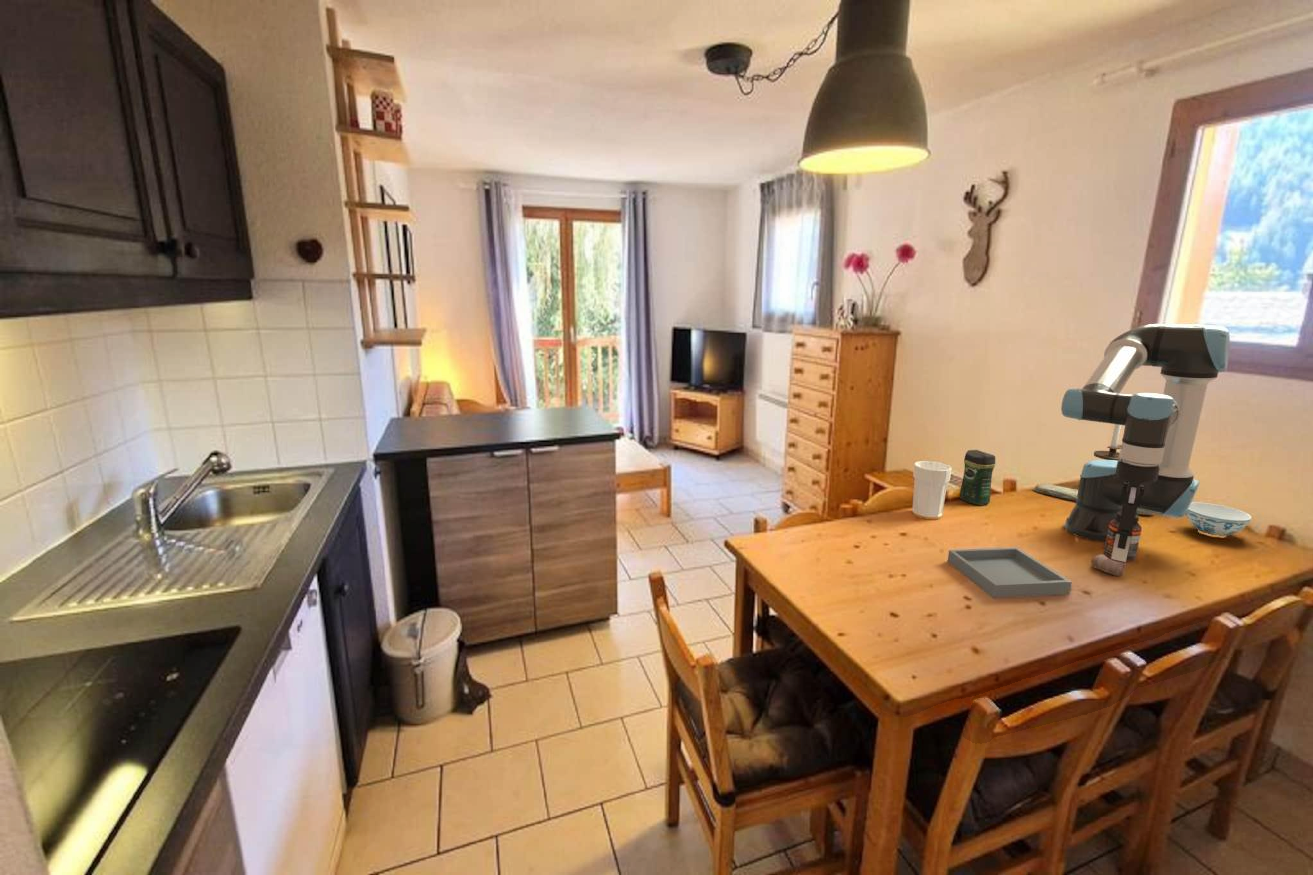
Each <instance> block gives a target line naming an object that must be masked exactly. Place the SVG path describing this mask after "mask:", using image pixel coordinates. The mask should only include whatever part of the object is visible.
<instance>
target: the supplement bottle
mask: <svg viewBox="0 0 1313 875" xmlns="http://www.w3.org/2000/svg"><path fill="white" fill-rule="evenodd" d="M1121 513H1122V511H1119V512H1117V516H1116V517H1117V518H1116V519H1113V520H1112V521H1111V522H1110V524H1109V529H1108V534H1107V539H1106V542H1104V543H1105V544H1104V548H1103V554H1104V555H1105V556H1106V557H1107V558H1109V559H1111V557H1112V552H1113V547H1114V542H1115V538H1116V534H1115V533H1113V531H1117V530H1118V528H1119V523H1120V518H1121ZM1139 518H1140V515H1139V514H1136V515H1135V520H1134V525H1133V529H1132V536H1131V540H1130V545H1129V550H1128V554H1127V559H1126V562H1123V561H1119V560H1114V559H1111V560H1113V561H1117V562H1122V563H1126V564H1132V563H1133V562H1134V561H1135V560H1136V556H1137V552H1138V547H1139V543H1140V540H1141V539H1140V538H1141V534H1142V529H1143V528H1142V526H1141V525H1140V524H1139Z"/></svg>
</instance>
